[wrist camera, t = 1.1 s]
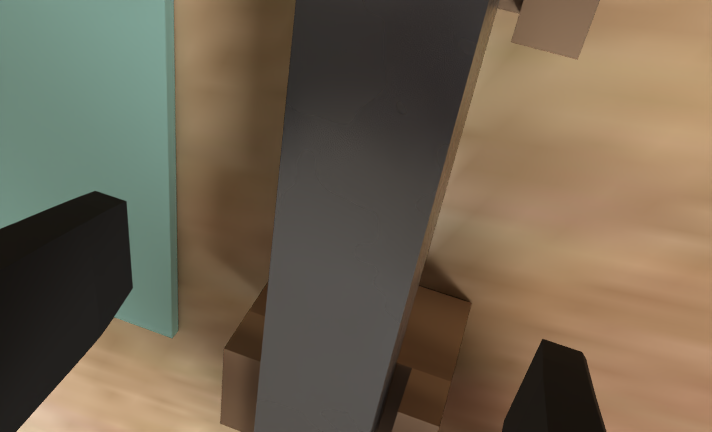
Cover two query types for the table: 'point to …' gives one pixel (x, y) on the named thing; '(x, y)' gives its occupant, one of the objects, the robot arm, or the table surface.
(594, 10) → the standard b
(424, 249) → the rail
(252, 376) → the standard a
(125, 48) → the mat
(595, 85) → the table surface
